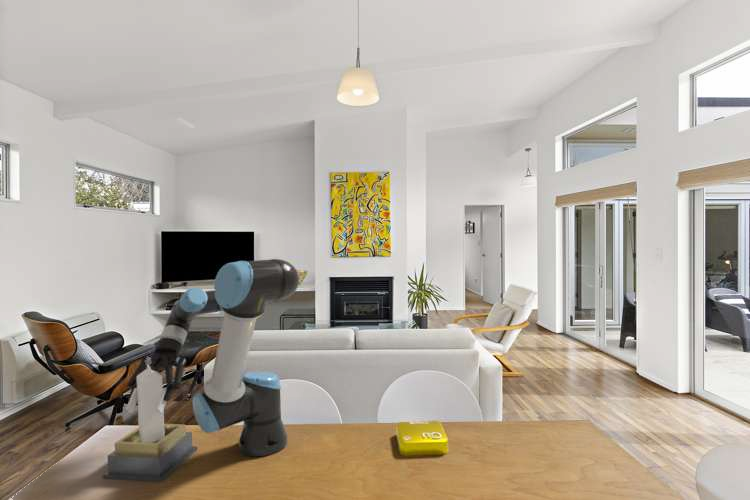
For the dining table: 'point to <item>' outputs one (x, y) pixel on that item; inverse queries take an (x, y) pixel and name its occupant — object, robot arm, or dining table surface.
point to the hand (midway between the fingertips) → (143, 411)
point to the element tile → (421, 438)
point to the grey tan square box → (150, 455)
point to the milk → (149, 406)
